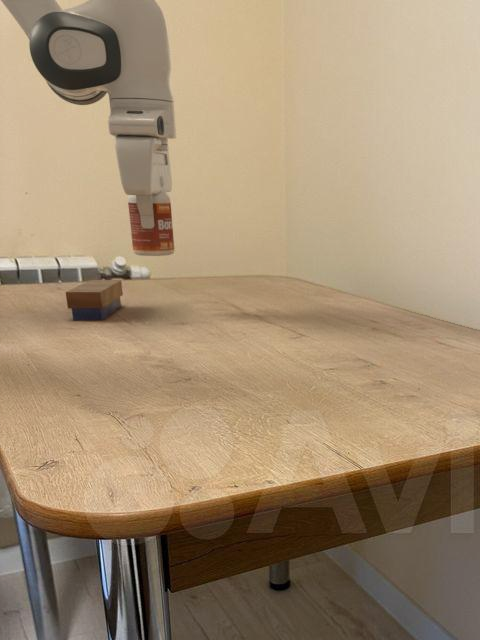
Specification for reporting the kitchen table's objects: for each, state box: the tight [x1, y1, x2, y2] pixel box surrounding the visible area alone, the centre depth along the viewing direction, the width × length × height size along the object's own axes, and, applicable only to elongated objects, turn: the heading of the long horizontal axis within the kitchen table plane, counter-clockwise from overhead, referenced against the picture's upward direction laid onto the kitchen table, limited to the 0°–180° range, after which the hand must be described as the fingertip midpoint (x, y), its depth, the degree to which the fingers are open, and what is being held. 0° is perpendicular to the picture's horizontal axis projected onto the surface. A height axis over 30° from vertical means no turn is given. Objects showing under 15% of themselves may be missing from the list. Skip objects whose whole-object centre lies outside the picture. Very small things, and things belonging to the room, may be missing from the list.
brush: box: [65, 279, 124, 321], centre depth 110 cm, size 13×5×4 cm, turn 4°
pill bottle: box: [127, 177, 175, 257], centre depth 106 cm, size 6×6×11 cm
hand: (153, 226), depth 107 cm, fingers closed on pill bottle, 6 cm apart
